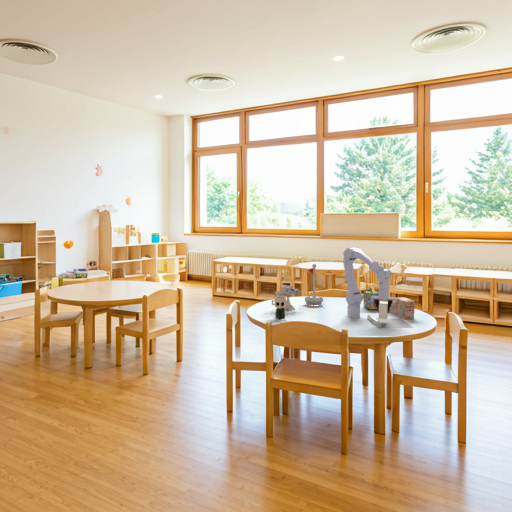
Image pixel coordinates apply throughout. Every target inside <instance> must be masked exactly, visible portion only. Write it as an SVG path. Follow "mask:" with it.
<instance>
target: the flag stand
mask: <svg viewBox="0 0 512 512" xmlns="http://www.w3.org/2000/svg"><path fill="white" fill-rule="evenodd" d="M316 268H317V264H316V263H313V264H312V268H310V269H308V270H307V272H309V273H311V274H312V297H311V296H309V295H308V296H305V297H304V302H305V304H307V305H313V306H312V307H315V306H314V305H321V304H322V303H323V302H324V297H322V296H318V297H317V296H316ZM307 305H306V306H307ZM321 306H322V305H321Z"/></svg>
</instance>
